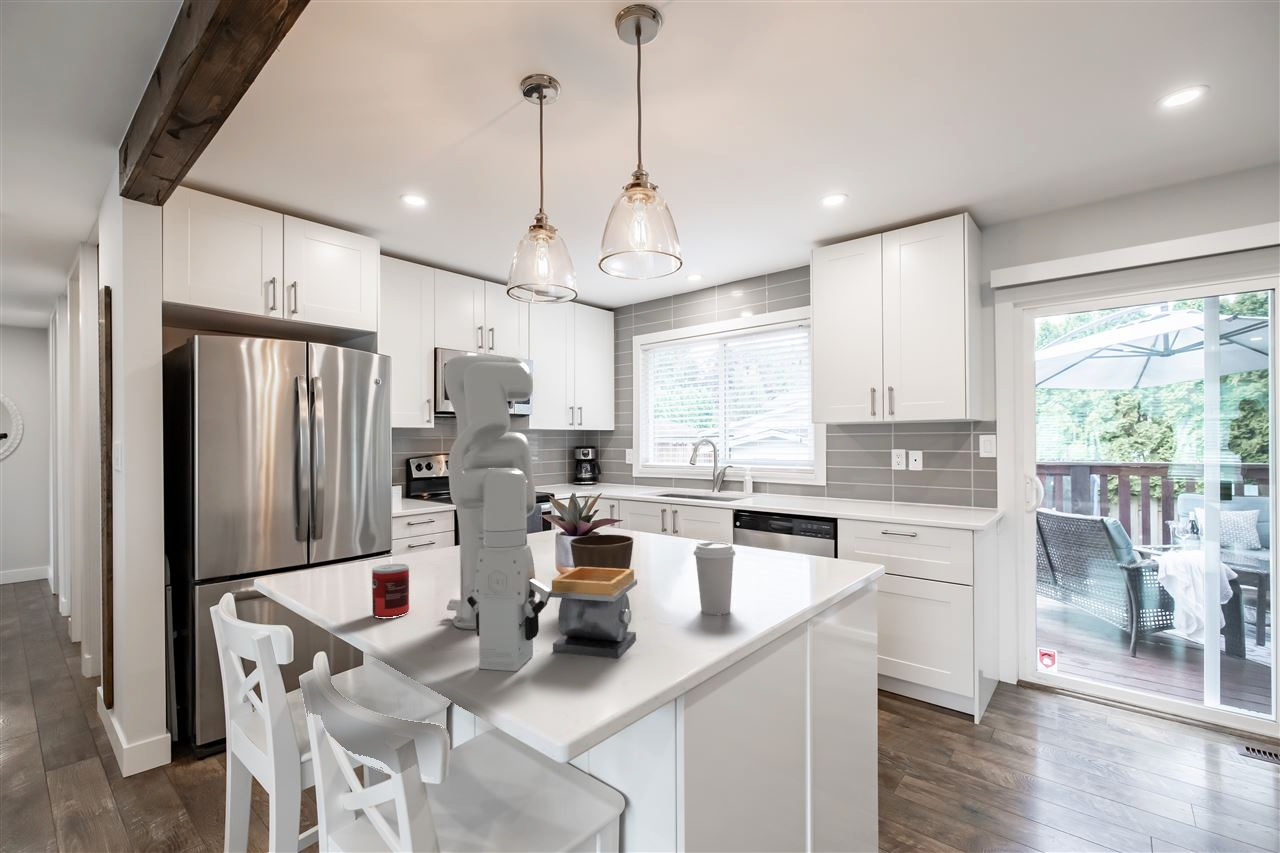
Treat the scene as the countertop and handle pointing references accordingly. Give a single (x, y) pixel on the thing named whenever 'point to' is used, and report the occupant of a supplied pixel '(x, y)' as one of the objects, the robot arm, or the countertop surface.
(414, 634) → the countertop surface
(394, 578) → the canned food
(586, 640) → the tray on grey cylinder
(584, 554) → the plant pot
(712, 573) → the coffee cup
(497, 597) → the supplement box
